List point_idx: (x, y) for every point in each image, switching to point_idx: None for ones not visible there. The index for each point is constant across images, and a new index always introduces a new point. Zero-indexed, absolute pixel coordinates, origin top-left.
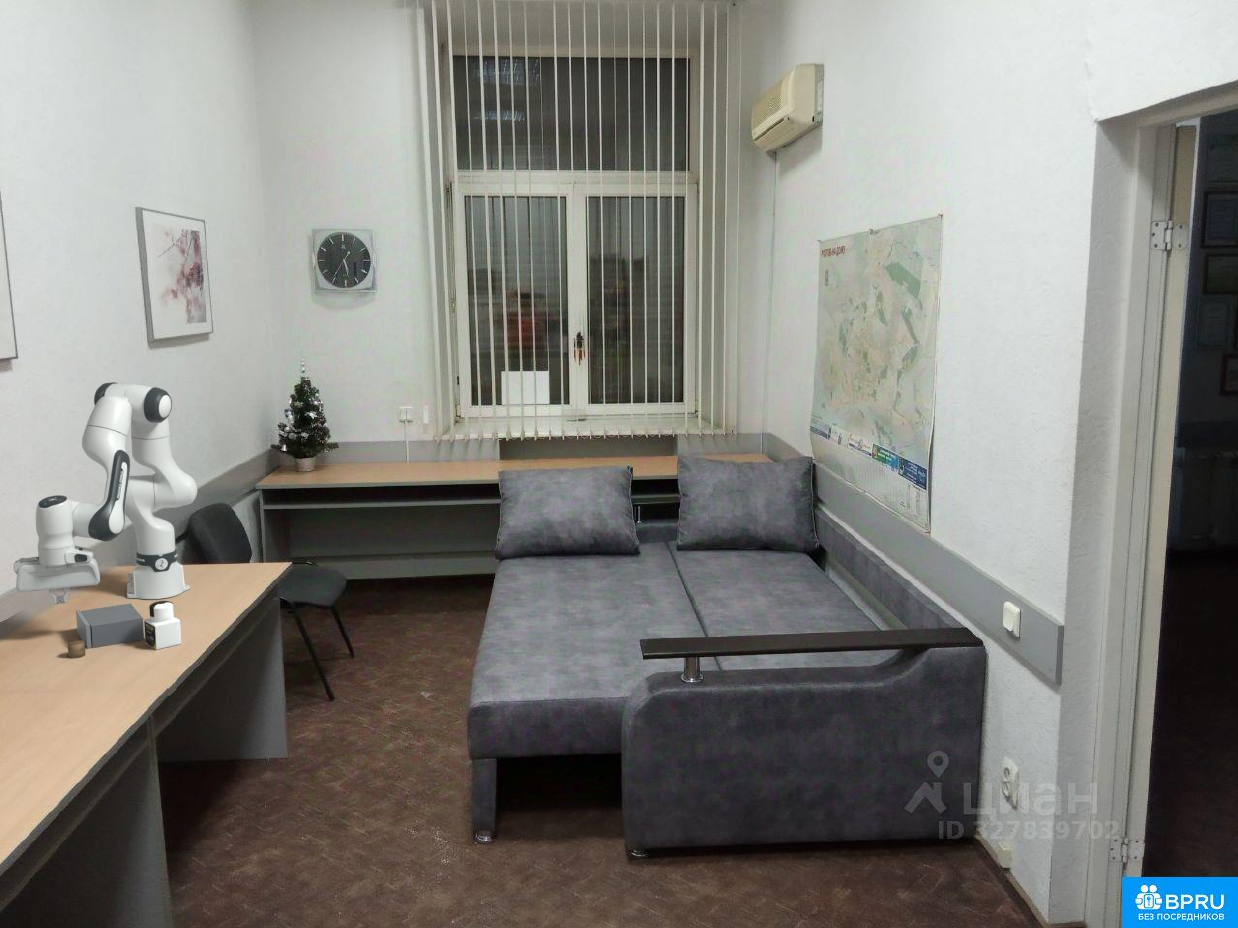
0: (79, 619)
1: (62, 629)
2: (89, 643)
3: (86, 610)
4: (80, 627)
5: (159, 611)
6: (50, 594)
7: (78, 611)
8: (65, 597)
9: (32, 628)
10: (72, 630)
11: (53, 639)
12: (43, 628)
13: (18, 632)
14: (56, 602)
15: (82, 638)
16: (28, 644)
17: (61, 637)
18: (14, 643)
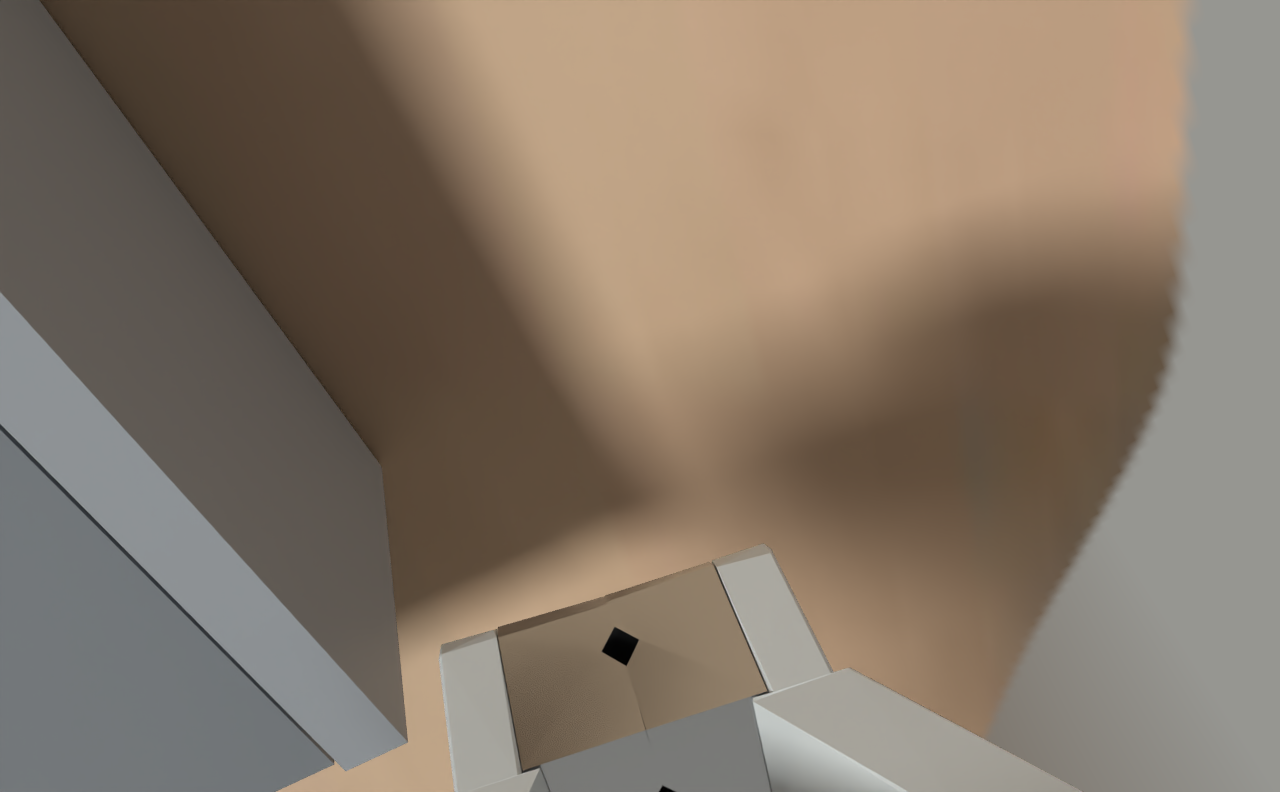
0: (199, 443)
1: (628, 567)
2: None
3: (235, 784)
4: (174, 308)
5: None
6: (1012, 760)
7: (332, 701)
8: (468, 778)
9: (968, 588)
10: (487, 538)
11: (637, 204)
12: (854, 591)
13: (1099, 476)
14: (719, 580)
15: (95, 99)
16: (954, 5)
17: (544, 282)
18: (1137, 79)
